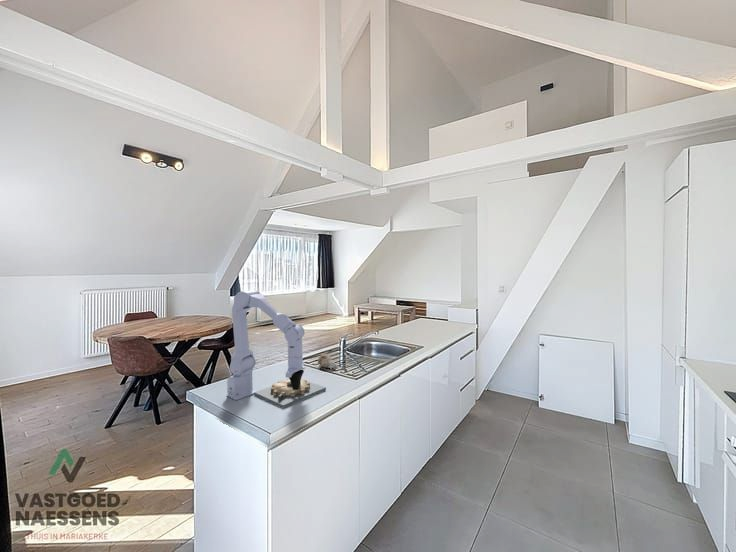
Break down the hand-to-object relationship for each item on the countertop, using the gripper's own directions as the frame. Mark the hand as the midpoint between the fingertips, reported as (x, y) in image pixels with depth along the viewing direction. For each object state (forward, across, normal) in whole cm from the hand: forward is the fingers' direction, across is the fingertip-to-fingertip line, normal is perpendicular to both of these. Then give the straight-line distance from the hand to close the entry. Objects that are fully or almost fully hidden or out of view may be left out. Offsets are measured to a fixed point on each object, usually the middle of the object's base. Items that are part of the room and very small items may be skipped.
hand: (295, 389), depth 125 cm
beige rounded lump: (+4, +41, -2) cm, 41 cm away
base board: (+4, +6, +5) cm, 8 cm away
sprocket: (+2, +6, +5) cm, 8 cm away
